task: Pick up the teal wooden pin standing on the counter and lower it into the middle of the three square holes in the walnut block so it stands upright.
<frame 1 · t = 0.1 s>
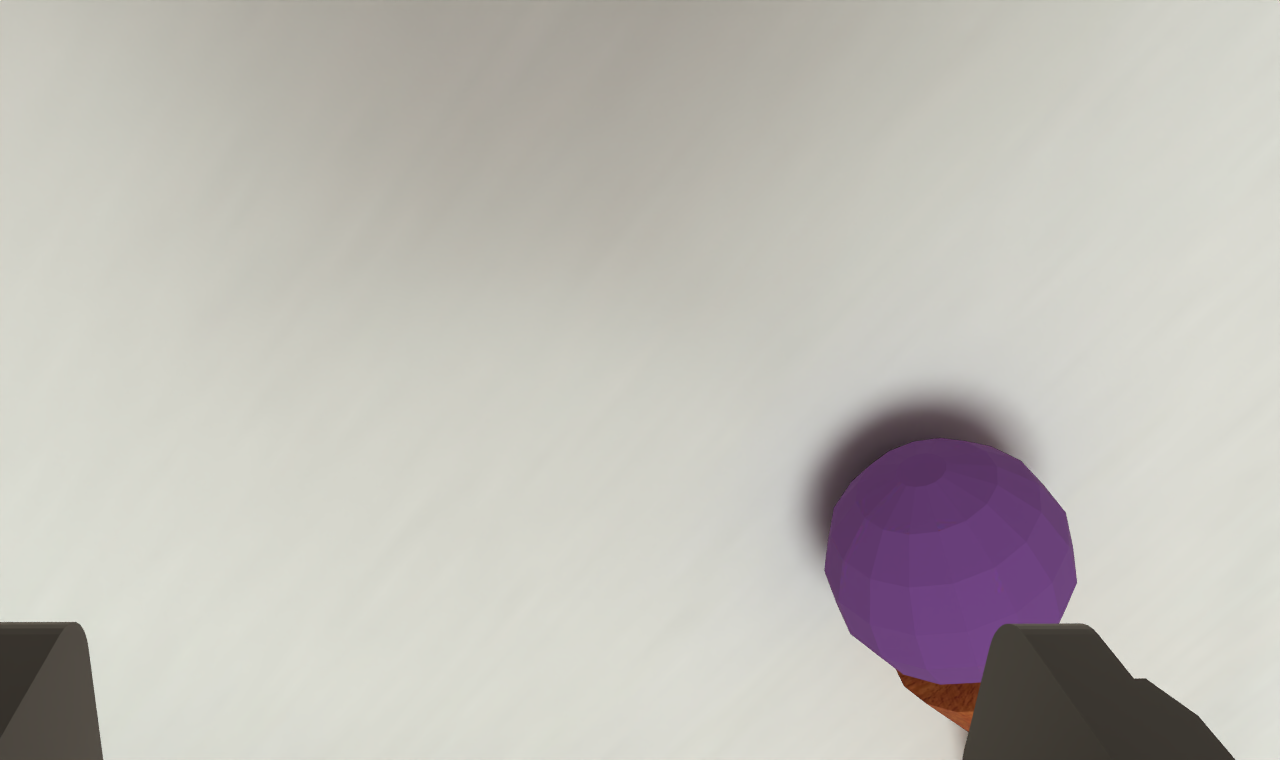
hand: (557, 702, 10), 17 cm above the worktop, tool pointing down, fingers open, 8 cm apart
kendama: (964, 674, 34), on the worktop
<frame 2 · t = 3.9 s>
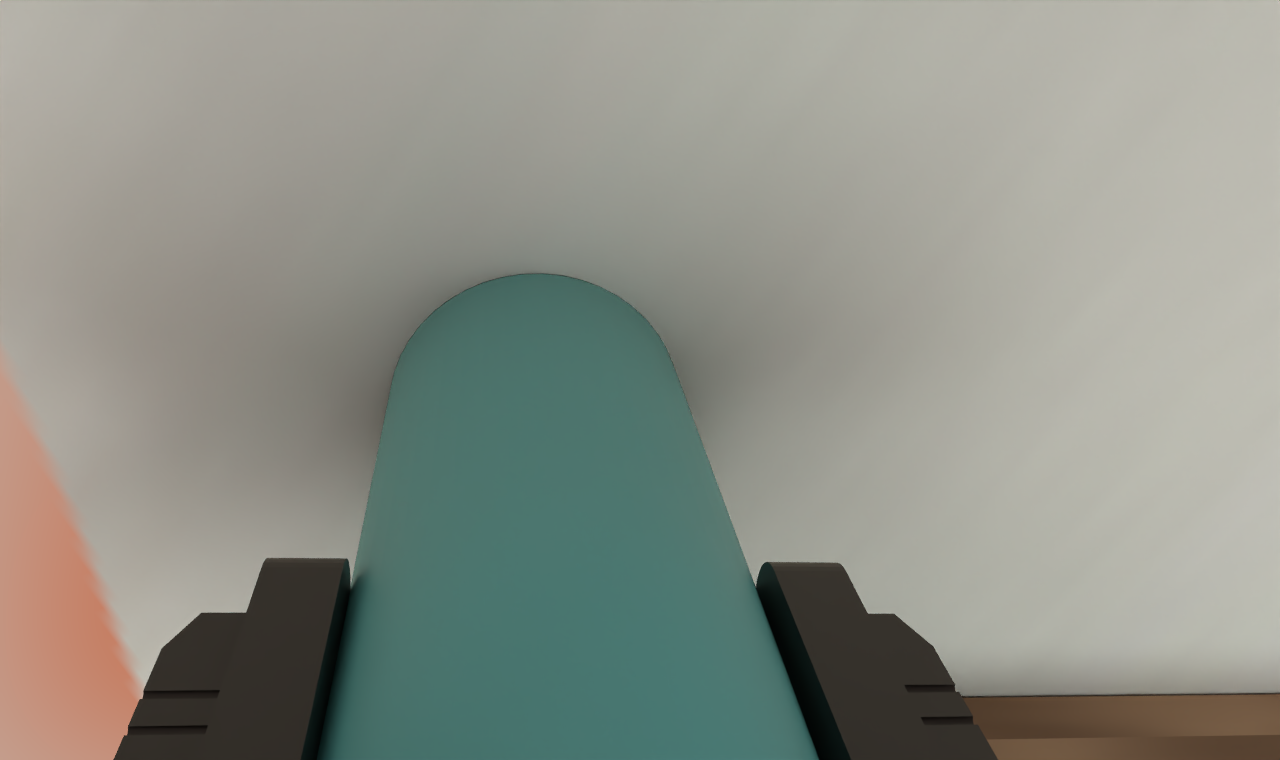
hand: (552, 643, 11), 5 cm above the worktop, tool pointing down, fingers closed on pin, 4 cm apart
pin: (536, 411, 16), on the worktop, touching gripper
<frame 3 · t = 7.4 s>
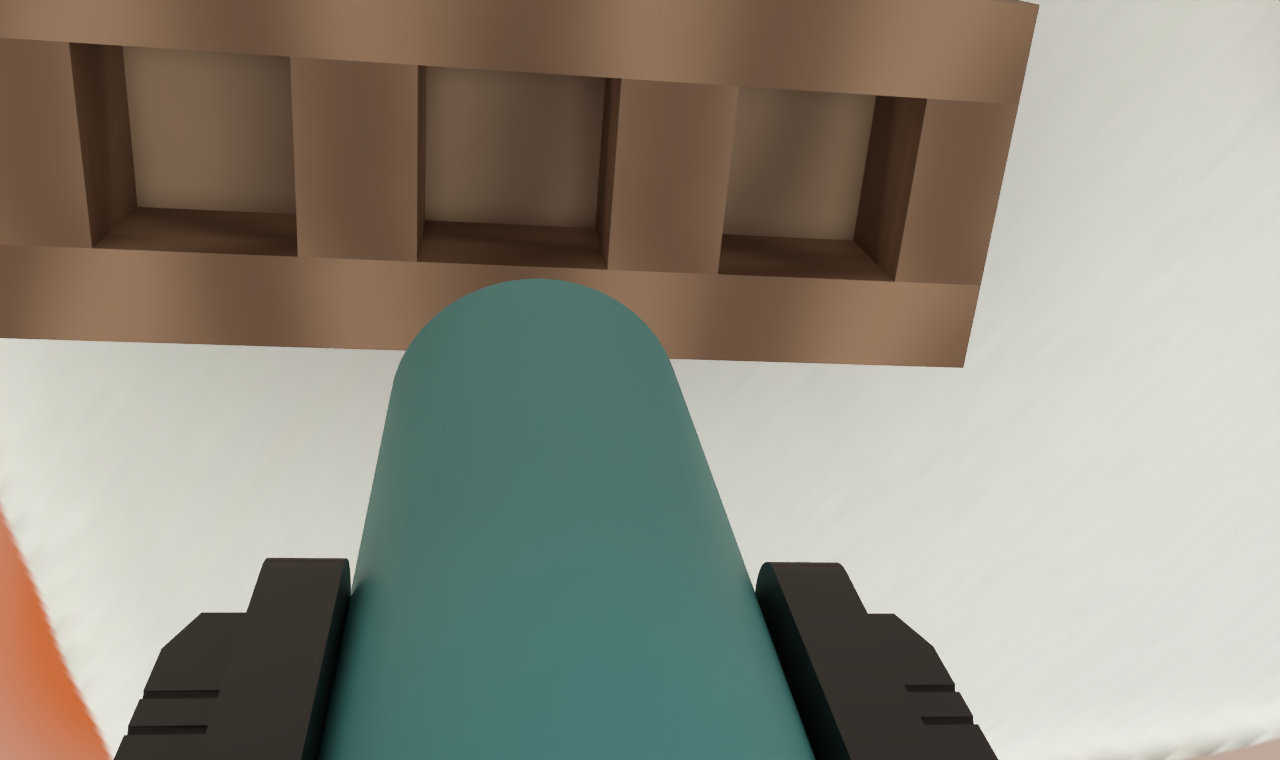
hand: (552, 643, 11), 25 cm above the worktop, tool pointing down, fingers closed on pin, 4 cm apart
pin: (536, 415, 16), point 19 cm above the worktop, touching gripper
bore block: (513, 132, 33), on the worktop
when the fingers open (7 cm above the worktop, at t = 11.3 s): pin stays where it is, resting on bore block.
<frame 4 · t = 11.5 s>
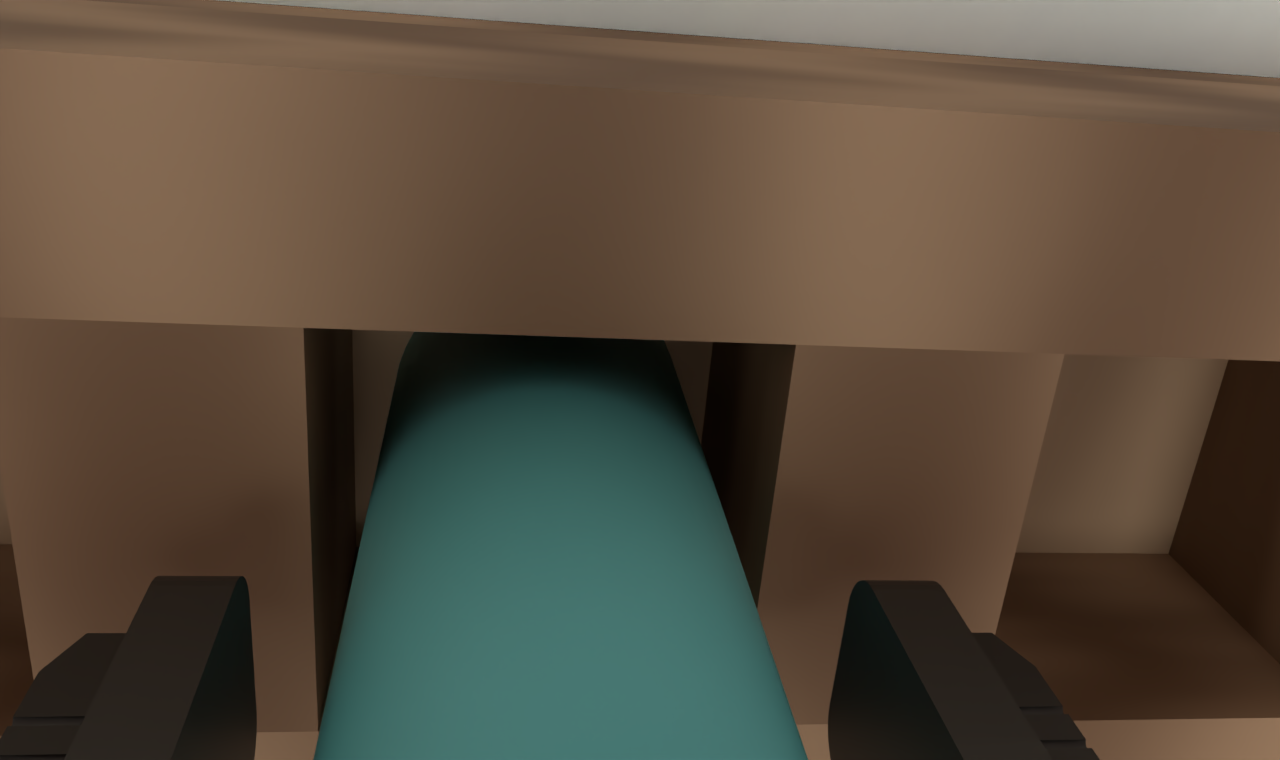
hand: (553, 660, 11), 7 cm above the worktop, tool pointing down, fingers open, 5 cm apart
pin: (537, 401, 16), point 1 cm above the worktop, touching bore block
bore block: (531, 370, 17), on the worktop
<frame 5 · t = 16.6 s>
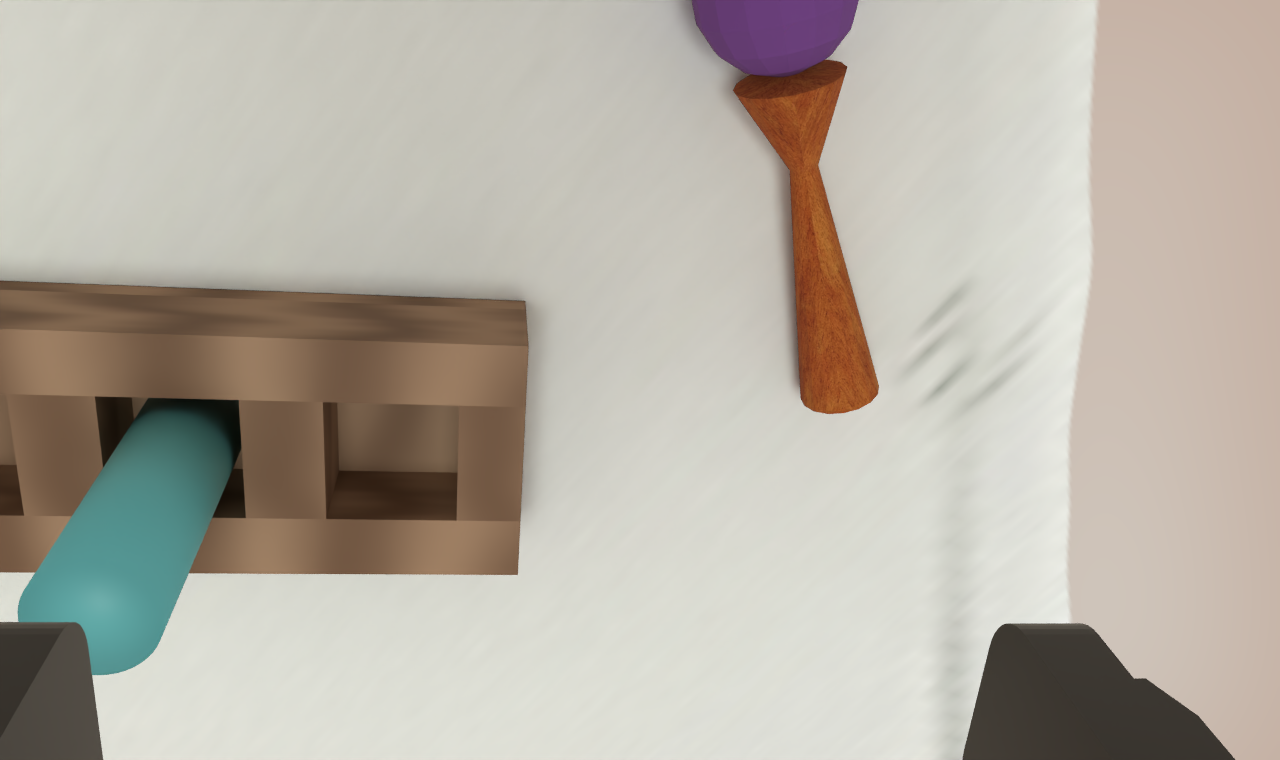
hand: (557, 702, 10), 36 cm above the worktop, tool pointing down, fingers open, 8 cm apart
pin: (199, 414, 46), point 1 cm above the worktop, touching bore block
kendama: (788, 159, 46), on the worktop
bore block: (203, 403, 47), on the worktop
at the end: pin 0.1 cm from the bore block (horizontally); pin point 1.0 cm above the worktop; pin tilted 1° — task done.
